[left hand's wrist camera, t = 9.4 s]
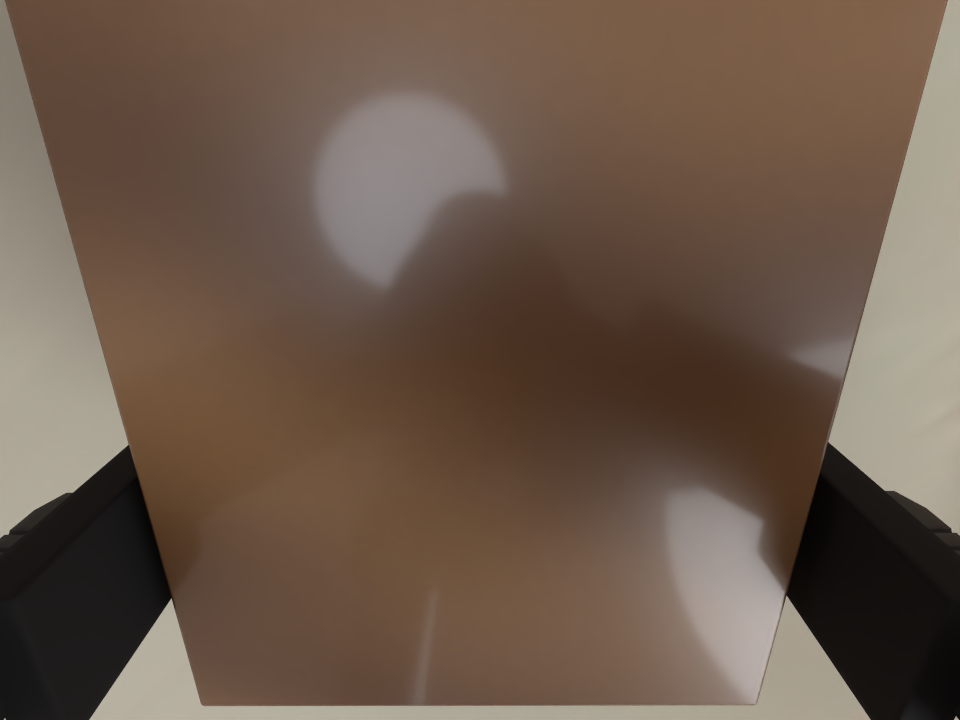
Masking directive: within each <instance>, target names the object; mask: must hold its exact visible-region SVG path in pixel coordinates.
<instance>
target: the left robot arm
mask: <svg viewBox="0 0 960 720" xmlns="http://www.w3.org/2000/svg"><path fill="white" fill-rule="evenodd" d="M787 596H788V598H789V599H790V601H791V602H792V604H793V605H794V607H795V608H796V610H797V611H798V613H799V614H800V616H801V617H802V619H803V620H804V622H805V623H806V625H807V626H808V628H809V629H810V630H811V632H812V633H813V635H814V636H815V638H816V639H817V641H818V642H819V644H820V645H821V647H822V648H823V650H824V651H825V653H826V654H827V656H828V657H829V659H830V660H831V662H832V663H833V664H834V666H835V667H836V669H837V670H838V672H839V673H840V675H841V676H842V678H843V679H844V681H845V682H846V684H847V685H848V687H849V688H850V690H851V691H852V693H853V694H854V695H855V697H856V698H857V700H858V701H859V703H860V704H861V706H862V707H863V709H864V710H865V712H866V713H867V715H868V716H869V718H870V719H871V720H954V718H955V716H957V718H958V719H959V720H960V536H959V535H958V534H957V533H952V531H951V528H950V527H948V526H947V525H946V524H945V523H944V522H942V521H941V520H940V519H939V518H938V517H936V516H935V515H934V514H933V513H931V512H930V511H929V510H928V509H927V508H925V507H923V506H921V505H919V504H917V503H915V502H914V501H912V500H910V499H908V498H906V497H904V496H902V495H901V494H899V493H897V492H895V491H884V490H883V489H882V488H881V487H880V486H878V485H877V484H876V483H875V482H874V481H873V480H871V479H870V478H869V477H868V476H867V475H866V474H864V473H863V472H862V471H861V470H860V469H859V468H858V467H856V466H855V465H854V464H853V463H852V462H851V461H849V460H848V459H847V458H846V457H845V456H844V455H842V454H841V453H840V452H839V451H838V450H837V449H835V448H834V447H833V446H832V445H831V444H830V443H829V442H828V444H827V447H826V451H825V455H824V458H823V462H822V466H821V469H820V473H819V477H818V481H817V484H816V488H815V492H814V495H813V499H812V503H811V506H810V510H809V514H808V517H807V521H806V525H805V528H804V532H803V536H802V540H801V543H800V547H799V551H798V554H797V558H796V562H795V565H794V569H793V573H792V576H791V580H790V584H789V587H788V591H787ZM171 598H172V597H171V594H170V590H169V587H168V583H167V579H166V576H165V572H164V569H163V565H162V562H161V558H160V554H159V551H158V547H157V544H156V540H155V536H154V533H153V529H152V526H151V522H150V519H149V515H148V511H147V508H146V504H145V501H144V497H143V493H142V490H141V486H140V483H139V479H138V475H137V472H136V468H135V465H134V461H133V458H132V454H131V450H130V447H129V445H128V446H127V447H126V448H125V449H123V450H122V451H121V452H120V453H119V454H118V455H116V456H115V457H114V458H113V459H112V460H111V461H109V462H108V463H107V464H106V465H105V466H104V467H102V468H101V469H100V470H99V471H98V472H97V473H96V474H94V475H93V476H92V477H91V478H90V479H89V480H87V481H86V482H85V483H84V484H83V485H82V486H80V487H79V488H78V489H77V490H76V491H75V492H73V493H65V494H63V495H62V496H60V497H58V498H56V499H54V500H52V501H51V502H49V503H47V504H45V505H43V506H41V507H39V508H38V509H36V510H34V511H33V512H32V513H30V514H29V515H28V516H27V517H26V518H24V519H23V520H22V521H21V522H20V523H18V524H17V525H16V526H15V527H13V528H12V529H11V530H10V533H9V535H4V536H3V537H1V538H0V720H4V718H6V720H89V719H90V718H91V716H92V715H93V713H94V712H95V710H96V709H97V707H98V706H99V704H100V703H101V701H102V700H103V698H104V697H105V696H106V694H107V693H108V691H109V690H110V688H111V687H112V685H113V684H114V682H115V681H116V679H117V678H118V676H119V675H120V673H121V672H122V670H123V669H124V667H125V666H126V664H127V663H128V662H129V660H130V659H131V657H132V656H133V654H134V653H135V651H136V650H137V648H138V647H139V645H140V644H141V642H142V641H143V639H144V638H145V636H146V635H147V633H148V632H149V630H150V629H151V628H152V626H153V625H154V623H155V622H156V620H157V619H158V617H159V616H160V614H161V613H162V611H163V610H164V608H165V607H166V605H167V604H168V602H169V601H170V599H171Z"/></svg>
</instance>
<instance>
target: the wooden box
mask: <svg viewBox="0 0 960 720" xmlns="http://www.w3.org/2000/svg"><path fill="white" fill-rule="evenodd" d="M947 1H948V0H5V2H6V6H7V9H8V13H9V16H10V20H11V24H12V27H13V31H14V34H15V38H16V42H17V45H18V49H19V52H20V56H21V60H22V63H23V67H24V70H25V74H26V77H27V81H28V85H29V88H30V92H31V95H32V99H33V103H34V106H35V110H36V113H37V117H38V120H39V124H40V128H41V131H42V135H43V138H44V142H45V146H46V149H47V153H48V156H49V160H50V164H51V167H52V171H53V174H54V178H55V181H56V185H57V189H58V192H59V196H60V199H61V203H62V207H63V210H64V214H65V217H66V221H67V224H68V228H69V232H70V235H71V239H72V242H73V246H74V250H75V253H76V257H77V260H78V264H79V268H80V271H81V275H82V278H83V282H84V285H85V289H86V293H87V296H88V300H89V303H90V307H91V311H92V314H93V318H94V321H95V325H96V328H97V332H98V336H99V339H100V343H101V346H102V350H103V354H104V357H105V361H106V364H107V368H108V371H109V375H110V379H111V382H112V386H113V389H114V393H115V397H116V400H117V404H118V407H119V411H120V415H121V418H122V422H123V425H124V429H125V432H126V436H127V440H128V443H129V447H130V450H131V454H132V458H133V461H134V465H135V468H136V472H137V475H138V479H139V483H140V486H141V490H142V493H143V497H144V501H145V504H146V508H147V511H148V515H149V519H150V522H151V526H152V529H153V533H154V536H155V540H156V544H157V547H158V551H159V554H160V558H161V562H162V565H163V569H164V572H165V576H166V579H167V583H168V587H169V590H170V594H171V597H172V601H173V605H174V608H175V612H176V615H177V619H178V623H179V626H180V630H181V633H182V637H183V640H184V644H185V648H186V651H187V655H188V658H189V662H190V666H191V669H192V673H193V676H194V680H195V683H196V687H197V691H198V694H199V698H200V701H201V704H202V705H203V706H515V705H755V704H757V702H758V698H759V694H760V691H761V687H762V683H763V680H764V676H765V672H766V669H767V665H768V661H769V658H770V654H771V650H772V646H773V643H774V639H775V635H776V632H777V628H778V624H779V621H780V617H781V613H782V610H783V606H784V602H785V599H786V595H787V591H788V587H789V584H790V580H791V576H792V573H793V569H794V565H795V562H796V558H797V554H798V551H799V547H800V543H801V540H802V536H803V532H804V528H805V525H806V521H807V517H808V514H809V510H810V506H811V503H812V499H813V495H814V492H815V488H816V484H817V481H818V477H819V473H820V469H821V466H822V462H823V458H824V455H825V451H826V447H827V444H828V440H829V436H830V433H831V429H832V425H833V422H834V418H835V414H836V410H837V407H838V403H839V399H840V396H841V392H842V388H843V385H844V381H845V377H846V374H847V370H848V366H849V363H850V359H851V355H852V352H853V348H854V344H855V340H856V337H857V333H858V329H859V326H860V322H861V318H862V315H863V311H864V307H865V304H866V300H867V296H868V293H869V289H870V285H871V281H872V278H873V274H874V270H875V267H876V263H877V259H878V256H879V252H880V248H881V245H882V241H883V237H884V234H885V230H886V226H887V222H888V219H889V215H890V211H891V208H892V204H893V200H894V197H895V193H896V189H897V186H898V182H899V178H900V175H901V171H902V167H903V163H904V160H905V156H906V152H907V149H908V145H909V141H910V138H911V134H912V130H913V127H914V123H915V119H916V116H917V112H918V108H919V104H920V101H921V97H922V93H923V90H924V86H925V82H926V79H927V75H928V71H929V68H930V64H931V60H932V57H933V53H934V49H935V45H936V42H937V38H938V34H939V31H940V27H941V23H942V20H943V16H944V12H945V9H946V5H947Z"/></svg>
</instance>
